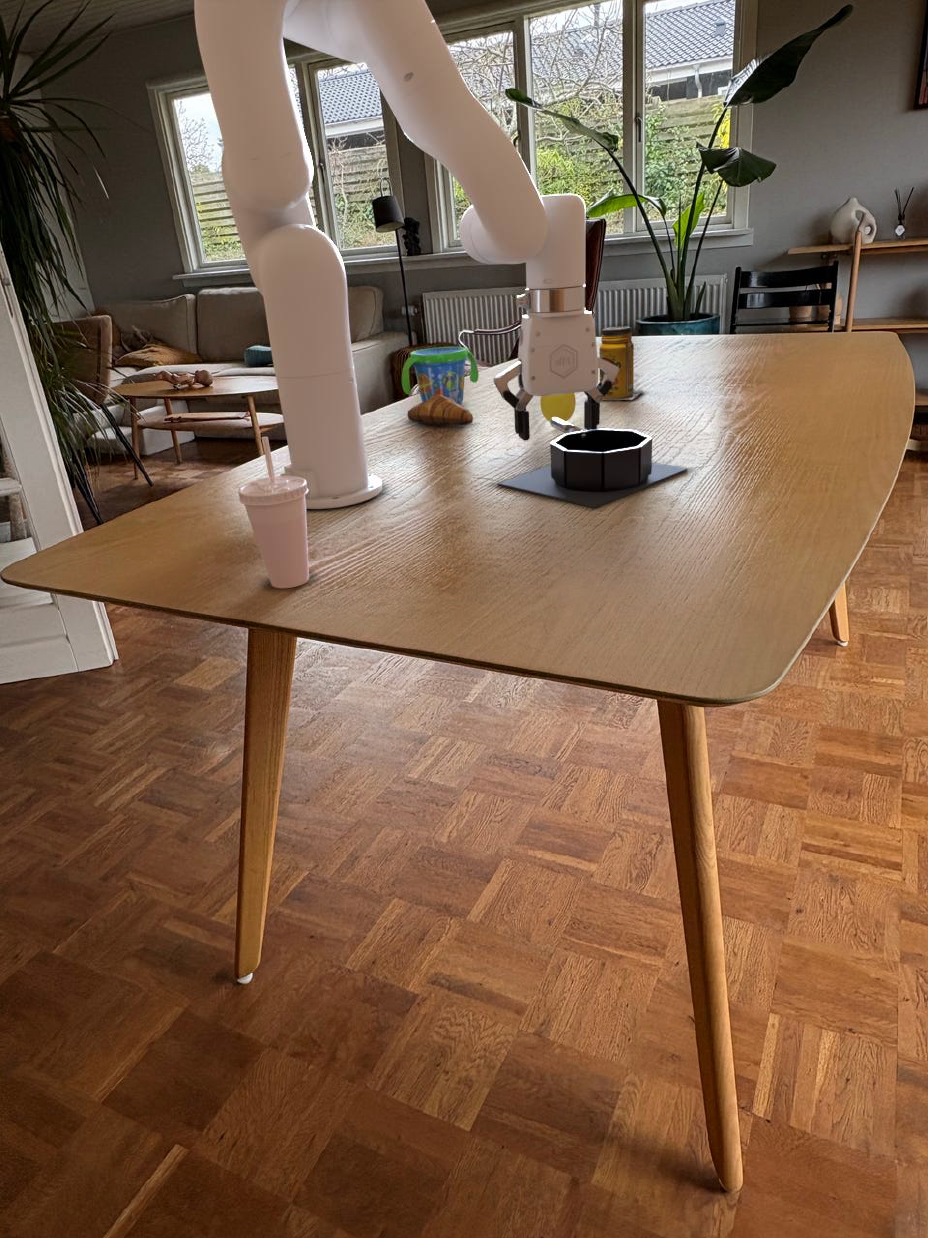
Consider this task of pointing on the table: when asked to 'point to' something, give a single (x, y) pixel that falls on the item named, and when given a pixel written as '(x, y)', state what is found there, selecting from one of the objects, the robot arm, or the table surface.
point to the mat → (546, 486)
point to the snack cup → (440, 372)
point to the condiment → (619, 361)
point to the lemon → (558, 406)
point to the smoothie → (279, 524)
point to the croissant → (440, 412)
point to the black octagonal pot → (599, 458)
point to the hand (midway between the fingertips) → (557, 434)
